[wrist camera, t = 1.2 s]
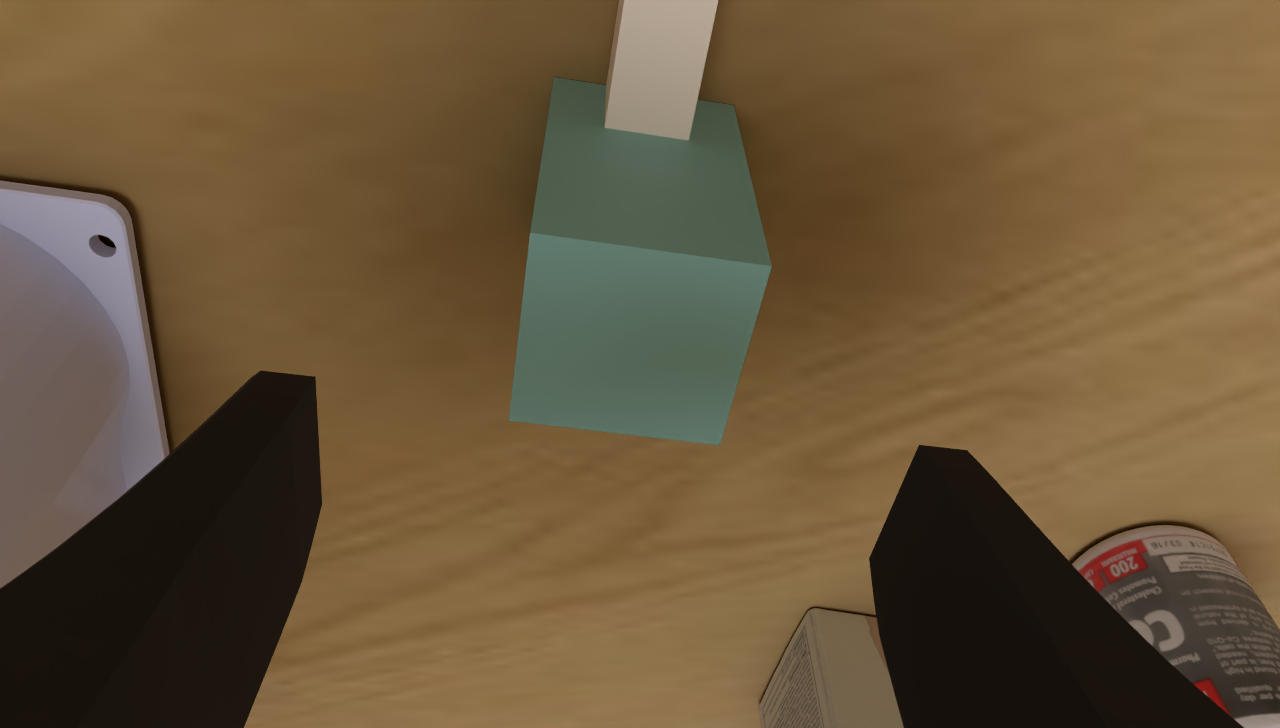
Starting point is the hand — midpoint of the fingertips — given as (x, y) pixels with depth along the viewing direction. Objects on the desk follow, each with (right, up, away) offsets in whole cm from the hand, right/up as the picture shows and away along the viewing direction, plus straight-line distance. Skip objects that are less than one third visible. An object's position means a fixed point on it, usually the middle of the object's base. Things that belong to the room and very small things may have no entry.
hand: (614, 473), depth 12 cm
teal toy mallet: (+1, +10, +4) cm, 11 cm away
